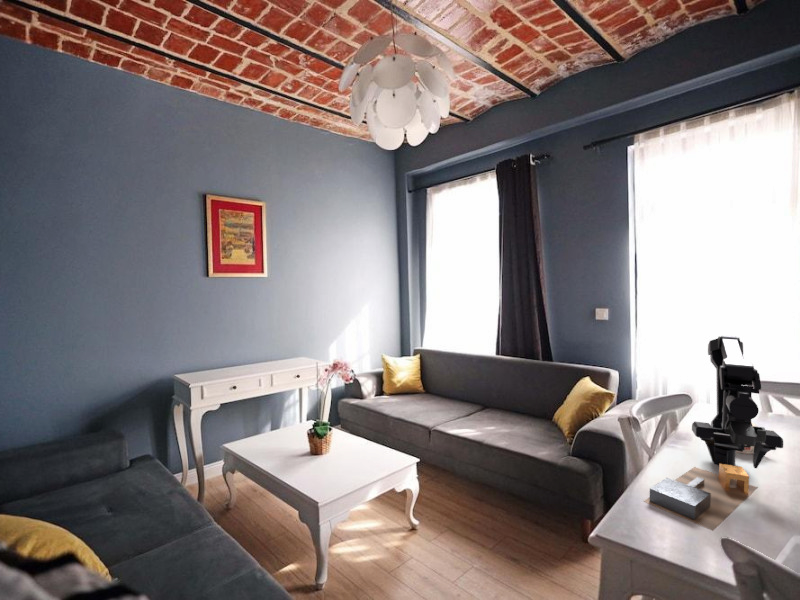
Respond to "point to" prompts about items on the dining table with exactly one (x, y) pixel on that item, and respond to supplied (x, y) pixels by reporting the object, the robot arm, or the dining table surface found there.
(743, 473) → the block
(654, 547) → the dining table surface
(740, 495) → the walnut board
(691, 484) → the grey flat rectangular block
